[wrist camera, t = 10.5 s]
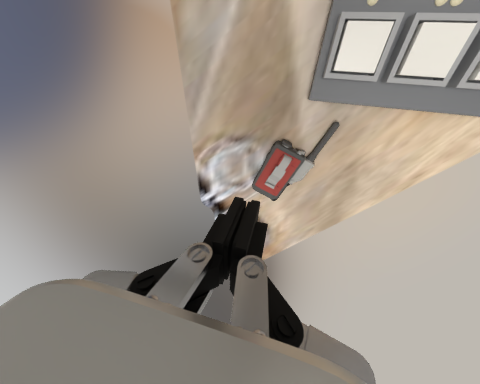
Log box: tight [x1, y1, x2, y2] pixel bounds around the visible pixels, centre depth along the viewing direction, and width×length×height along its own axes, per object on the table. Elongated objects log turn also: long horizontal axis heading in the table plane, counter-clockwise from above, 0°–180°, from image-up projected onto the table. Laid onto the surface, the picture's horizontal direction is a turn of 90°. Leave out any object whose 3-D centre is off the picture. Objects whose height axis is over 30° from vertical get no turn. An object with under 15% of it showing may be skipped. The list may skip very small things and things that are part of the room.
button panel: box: [308, 0, 480, 117], centre depth 23 cm, size 13×25×4 cm, turn 86°
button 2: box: [395, 22, 477, 78], centre depth 22 cm, size 5×5×2 cm
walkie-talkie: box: [252, 122, 339, 201], centre depth 35 cm, size 9×4×20 cm
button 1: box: [331, 21, 394, 74], centre depth 23 cm, size 5×5×2 cm
